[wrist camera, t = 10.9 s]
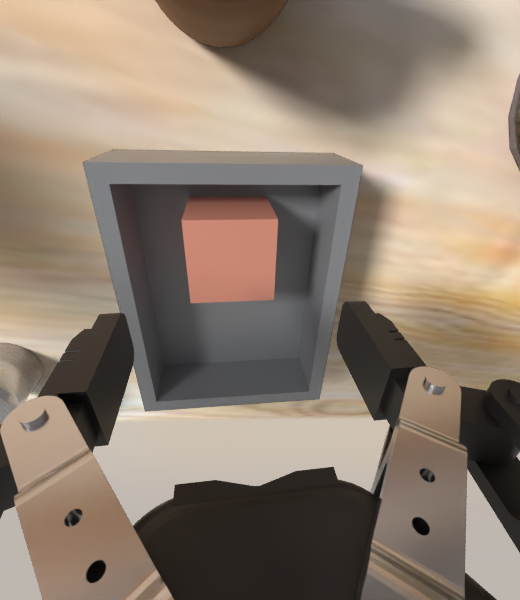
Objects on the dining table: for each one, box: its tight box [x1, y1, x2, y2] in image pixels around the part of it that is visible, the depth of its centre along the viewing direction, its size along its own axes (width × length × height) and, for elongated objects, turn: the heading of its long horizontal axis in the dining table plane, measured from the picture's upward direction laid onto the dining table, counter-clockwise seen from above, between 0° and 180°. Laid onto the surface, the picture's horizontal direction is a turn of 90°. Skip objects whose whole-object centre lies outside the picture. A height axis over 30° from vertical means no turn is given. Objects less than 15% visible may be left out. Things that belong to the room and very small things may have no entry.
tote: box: [83, 150, 363, 411], centre depth 23 cm, size 18×14×5 cm
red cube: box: [181, 196, 278, 303], centre depth 20 cm, size 5×5×5 cm
